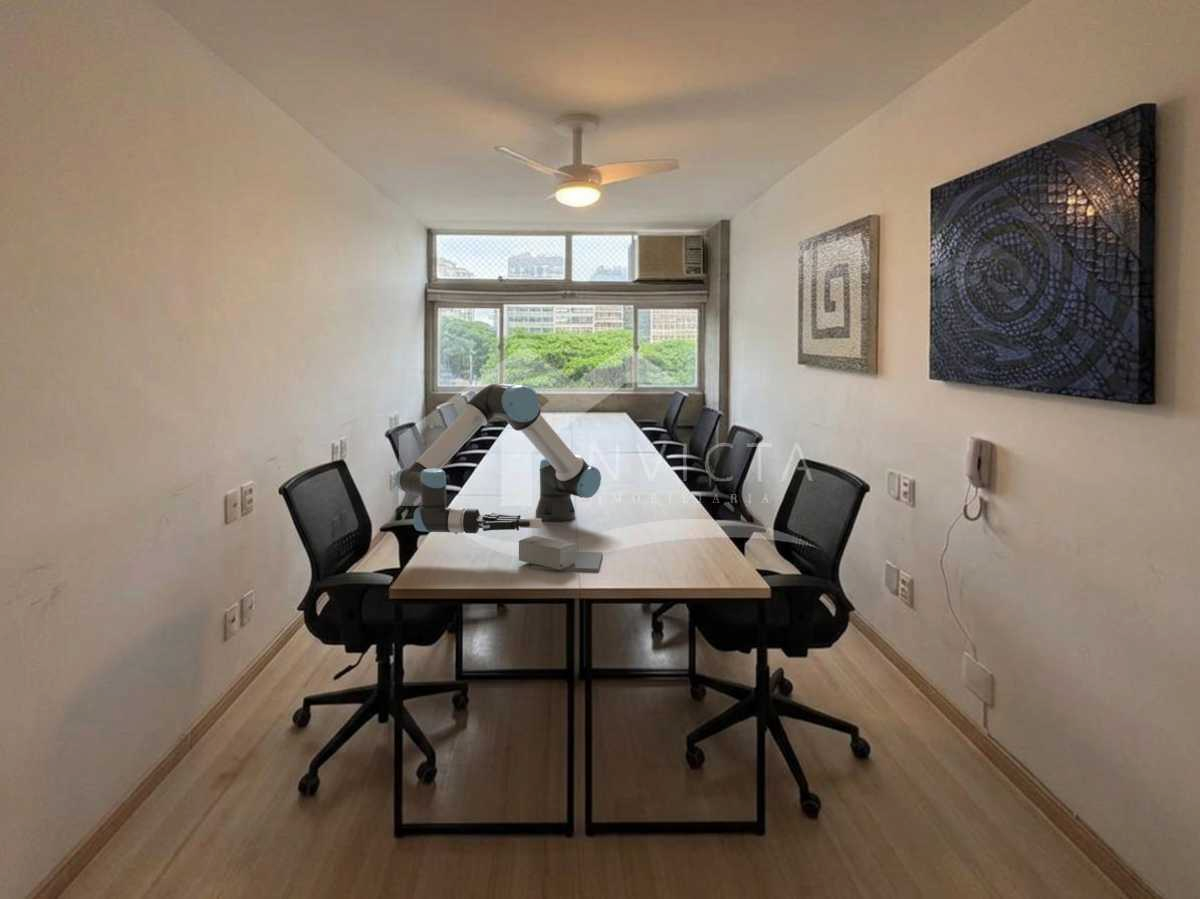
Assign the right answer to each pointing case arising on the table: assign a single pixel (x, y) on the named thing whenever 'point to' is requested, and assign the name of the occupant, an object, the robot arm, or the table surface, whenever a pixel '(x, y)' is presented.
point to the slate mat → (579, 563)
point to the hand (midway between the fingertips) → (540, 523)
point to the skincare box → (547, 552)
